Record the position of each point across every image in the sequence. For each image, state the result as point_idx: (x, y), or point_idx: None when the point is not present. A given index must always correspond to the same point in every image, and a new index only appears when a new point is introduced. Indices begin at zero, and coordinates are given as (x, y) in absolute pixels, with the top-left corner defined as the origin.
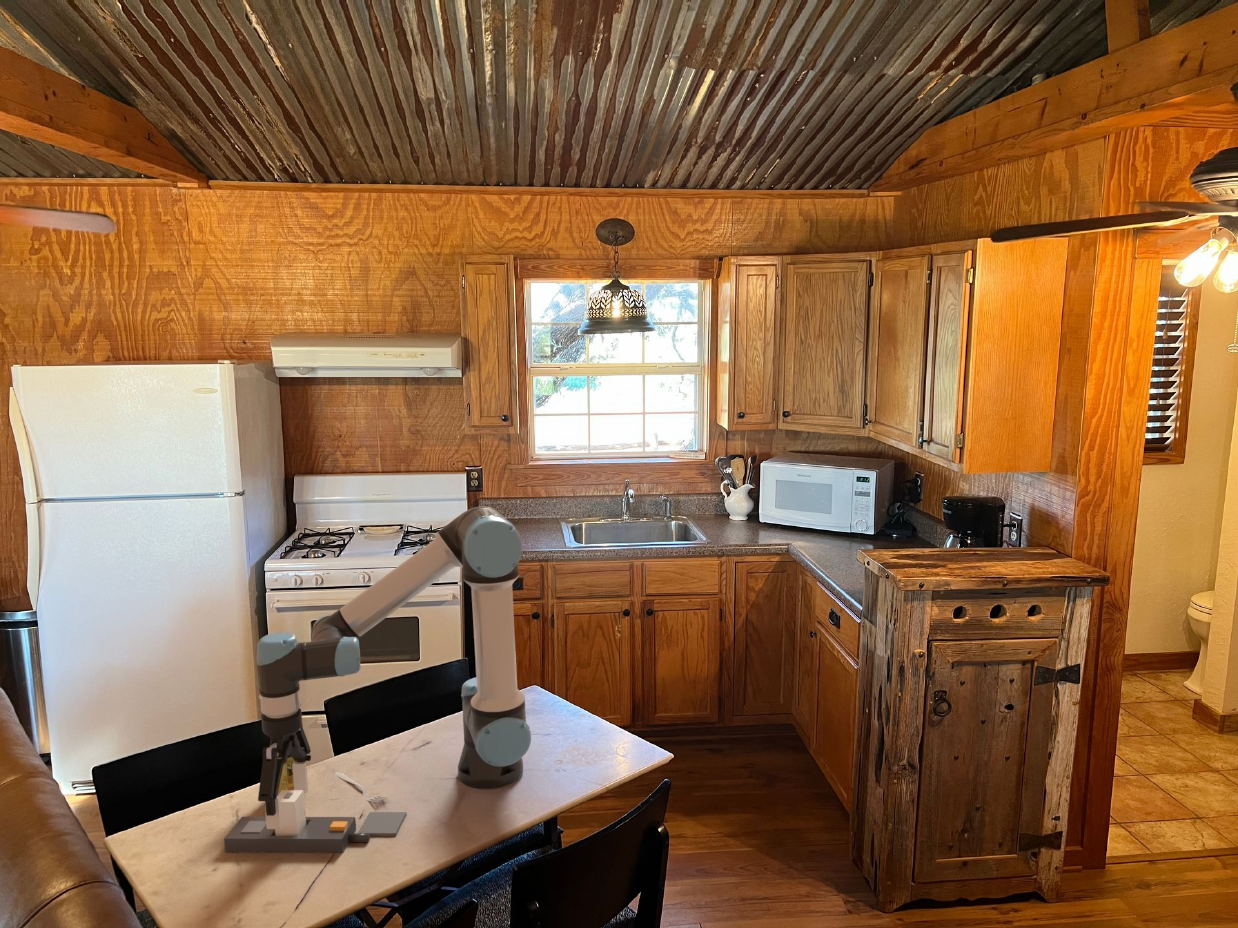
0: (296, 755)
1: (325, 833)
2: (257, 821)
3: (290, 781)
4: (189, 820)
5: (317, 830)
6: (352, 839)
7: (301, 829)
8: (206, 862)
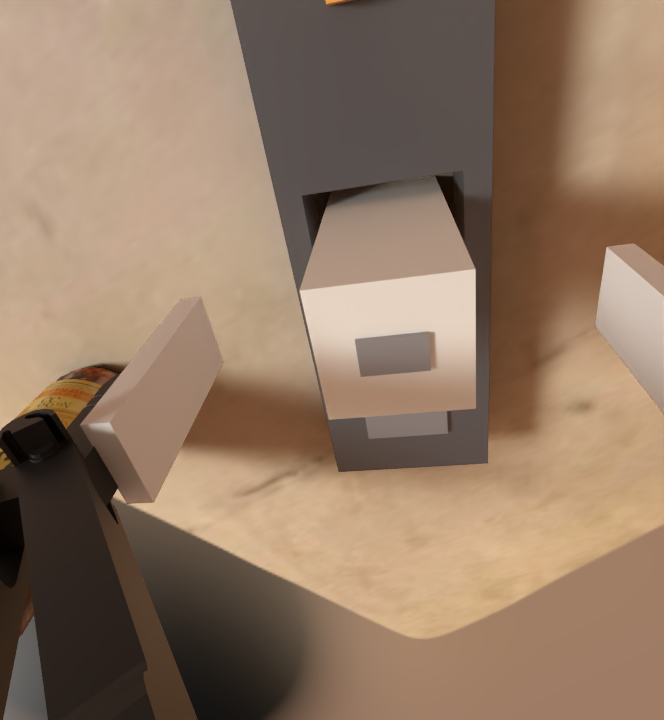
0: (122, 547)
1: (431, 5)
2: None
3: None
4: (325, 564)
5: (400, 89)
6: None
7: (387, 200)
8: (537, 446)
